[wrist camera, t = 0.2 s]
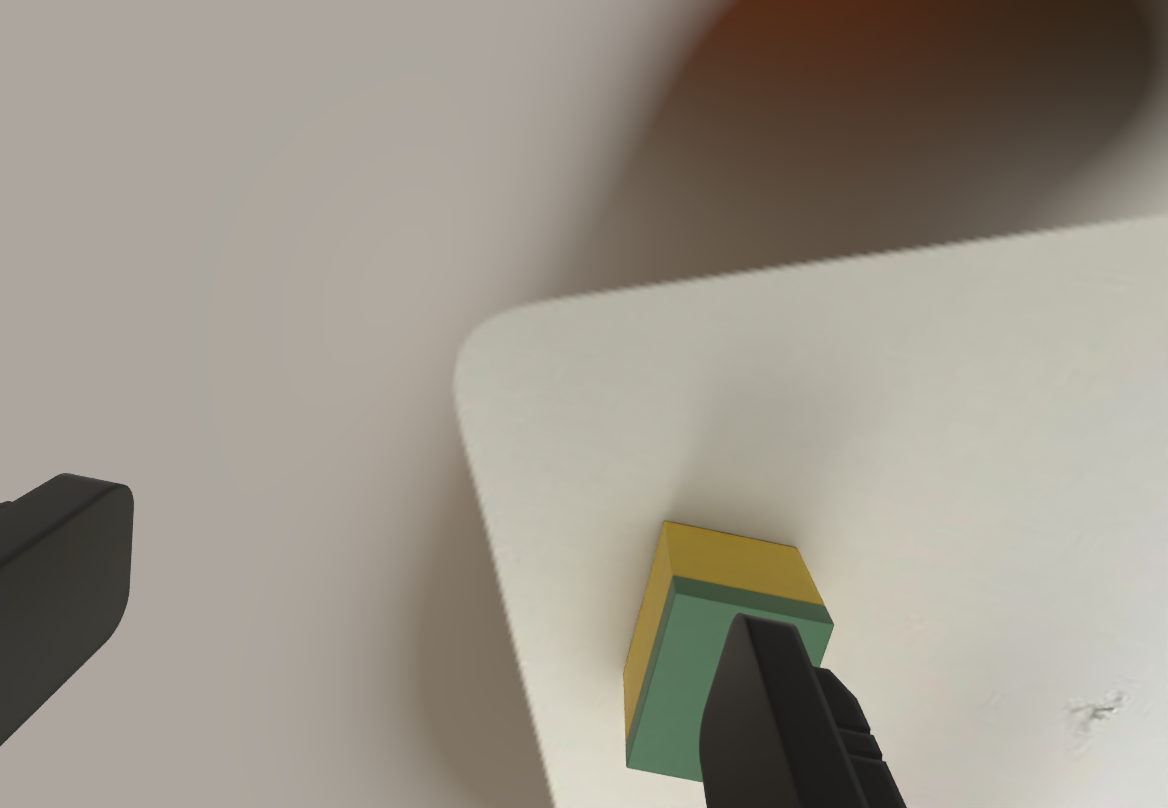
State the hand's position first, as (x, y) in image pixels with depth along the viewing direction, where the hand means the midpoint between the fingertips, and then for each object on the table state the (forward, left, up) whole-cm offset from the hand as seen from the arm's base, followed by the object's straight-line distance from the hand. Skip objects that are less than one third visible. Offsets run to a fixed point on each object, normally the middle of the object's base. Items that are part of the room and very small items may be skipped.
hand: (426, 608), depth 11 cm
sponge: (+8, +8, -15) cm, 18 cm away
